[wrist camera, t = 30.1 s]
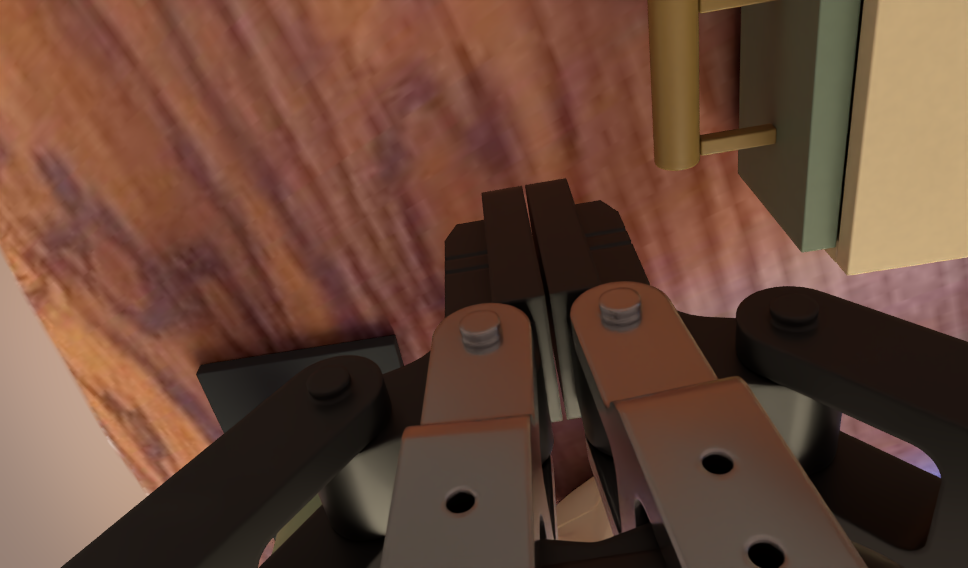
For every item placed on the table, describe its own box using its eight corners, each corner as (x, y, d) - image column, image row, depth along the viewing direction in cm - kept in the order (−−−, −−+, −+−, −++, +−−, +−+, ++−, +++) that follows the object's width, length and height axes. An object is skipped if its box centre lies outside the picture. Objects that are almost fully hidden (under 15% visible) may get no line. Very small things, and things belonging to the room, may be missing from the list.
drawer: (637, 189, 32) (677, 272, 26) (619, -111, 26) (667, -91, 20) (1090, 116, 31) (1238, 185, 25) (1183, -216, 25) (1409, -226, 19)
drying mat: (200, 364, 37) (195, 374, 37) (395, 334, 37) (394, 344, 36) (294, 566, 46) (291, 577, 45) (454, 544, 45) (454, 555, 45)
